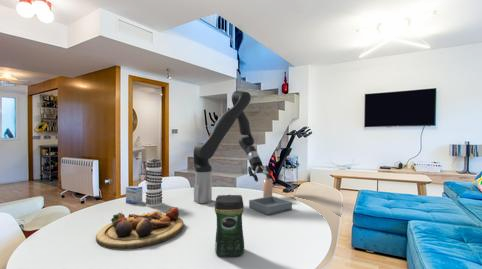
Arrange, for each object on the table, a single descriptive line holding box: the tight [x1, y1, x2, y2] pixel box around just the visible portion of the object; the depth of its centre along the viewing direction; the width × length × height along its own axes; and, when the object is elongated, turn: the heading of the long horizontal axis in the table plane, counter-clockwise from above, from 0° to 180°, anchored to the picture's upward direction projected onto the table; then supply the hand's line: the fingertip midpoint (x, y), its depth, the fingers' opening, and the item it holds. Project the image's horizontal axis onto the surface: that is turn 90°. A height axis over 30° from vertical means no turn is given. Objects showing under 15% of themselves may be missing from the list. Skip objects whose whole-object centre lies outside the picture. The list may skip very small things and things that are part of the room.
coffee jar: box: [214, 194, 245, 258], centre depth 80 cm, size 10×8×19 cm
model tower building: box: [144, 157, 164, 208], centre depth 134 cm, size 9×9×25 cm
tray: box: [248, 195, 293, 216], centre depth 126 cm, size 16×15×4 cm
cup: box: [262, 177, 273, 198], centre depth 144 cm, size 5×5×12 cm
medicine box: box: [125, 185, 143, 205], centre depth 138 cm, size 8×4×9 cm, turn 73°
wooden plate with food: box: [95, 206, 184, 250], centre depth 98 cm, size 32×32×8 cm
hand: (263, 180), depth 149 cm, fingers open, 8 cm apart
